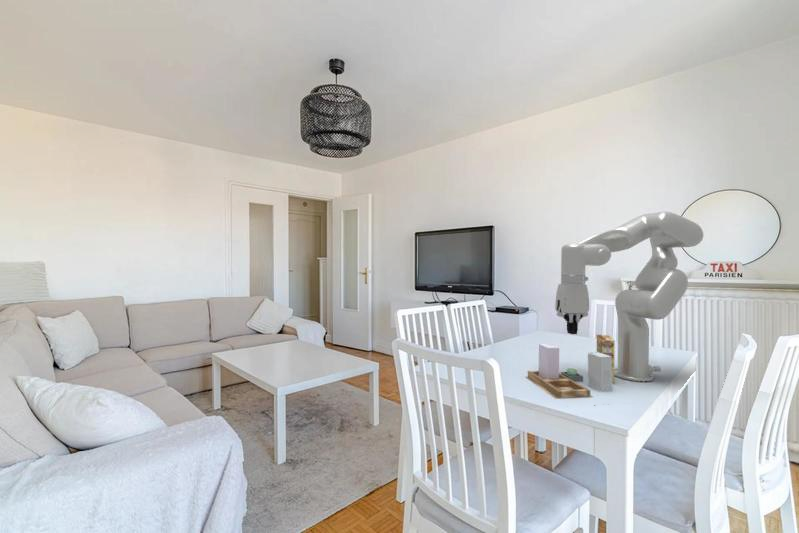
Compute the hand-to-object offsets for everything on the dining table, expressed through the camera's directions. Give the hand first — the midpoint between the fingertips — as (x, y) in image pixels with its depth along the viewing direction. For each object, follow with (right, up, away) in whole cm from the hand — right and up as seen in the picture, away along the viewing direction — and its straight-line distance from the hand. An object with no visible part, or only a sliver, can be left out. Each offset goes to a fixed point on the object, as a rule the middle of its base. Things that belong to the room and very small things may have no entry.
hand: (572, 333), depth 126 cm
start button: (0, -15, 0) cm, 15 cm away
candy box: (+13, -17, +3) cm, 22 cm away
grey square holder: (0, -17, 0) cm, 17 cm away
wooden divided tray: (-8, -17, -7) cm, 20 cm away
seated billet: (-9, -16, -2) cm, 18 cm away
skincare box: (+5, -17, -8) cm, 20 cm away
